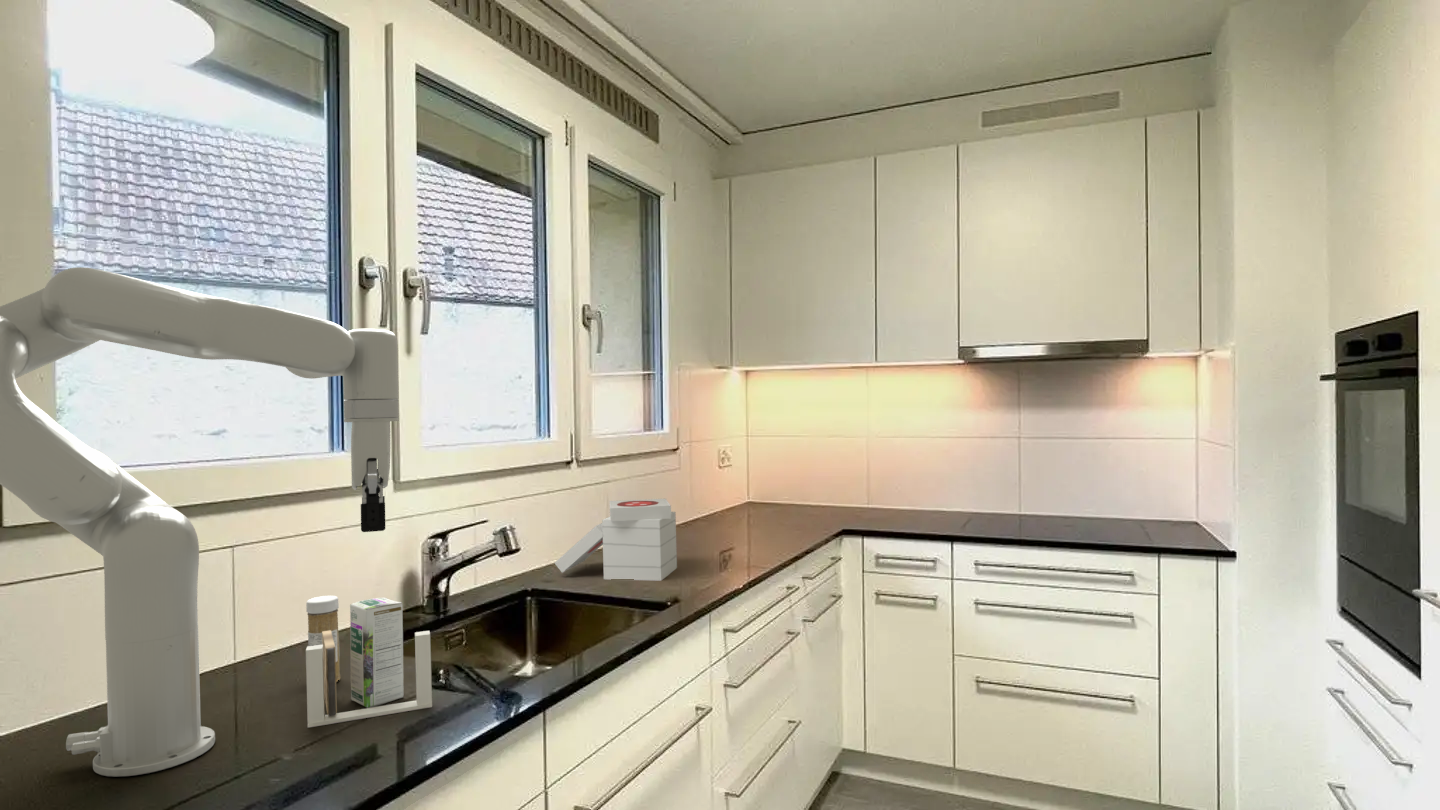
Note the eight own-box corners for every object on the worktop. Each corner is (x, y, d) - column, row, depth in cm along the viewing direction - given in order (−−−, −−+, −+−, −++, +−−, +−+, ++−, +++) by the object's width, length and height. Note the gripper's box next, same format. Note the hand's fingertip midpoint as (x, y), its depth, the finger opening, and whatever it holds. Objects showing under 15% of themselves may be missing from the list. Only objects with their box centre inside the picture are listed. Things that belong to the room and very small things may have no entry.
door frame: (307, 727, 107) (305, 650, 107) (309, 721, 109) (307, 646, 109) (432, 706, 114) (430, 634, 114) (431, 701, 116) (429, 630, 116)
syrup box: (349, 700, 117) (346, 603, 117) (388, 688, 121) (385, 595, 121) (367, 709, 113) (364, 609, 113) (406, 697, 118) (403, 600, 118)
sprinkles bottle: (341, 675, 128) (339, 593, 128) (338, 684, 124) (336, 599, 124) (310, 679, 127) (308, 596, 127) (306, 689, 122) (304, 602, 122)
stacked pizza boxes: (580, 564, 214) (578, 498, 214) (686, 566, 208) (684, 498, 208) (550, 580, 195) (548, 508, 195) (666, 583, 189) (664, 508, 189)
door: (338, 714, 109) (337, 648, 109) (327, 716, 109) (326, 650, 109) (333, 690, 119) (332, 630, 119) (323, 692, 118) (322, 631, 118)
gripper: (346, 412, 124) (347, 521, 124) (341, 412, 108) (343, 537, 108) (397, 411, 127) (399, 517, 127) (400, 411, 111) (402, 532, 111)
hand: (373, 526), depth 117 cm, fingers open, 9 cm apart
